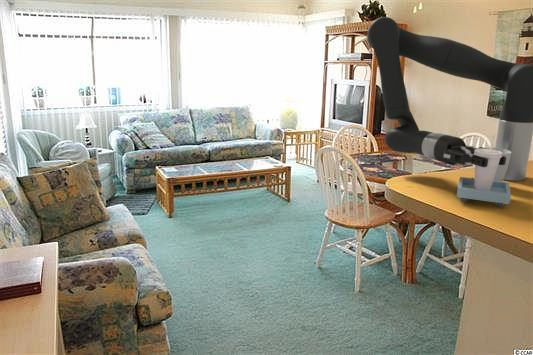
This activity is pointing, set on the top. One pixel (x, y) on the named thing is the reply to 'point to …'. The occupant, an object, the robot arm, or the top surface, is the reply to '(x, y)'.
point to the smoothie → (486, 174)
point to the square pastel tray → (484, 192)
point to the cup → (502, 168)
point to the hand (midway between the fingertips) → (495, 162)
